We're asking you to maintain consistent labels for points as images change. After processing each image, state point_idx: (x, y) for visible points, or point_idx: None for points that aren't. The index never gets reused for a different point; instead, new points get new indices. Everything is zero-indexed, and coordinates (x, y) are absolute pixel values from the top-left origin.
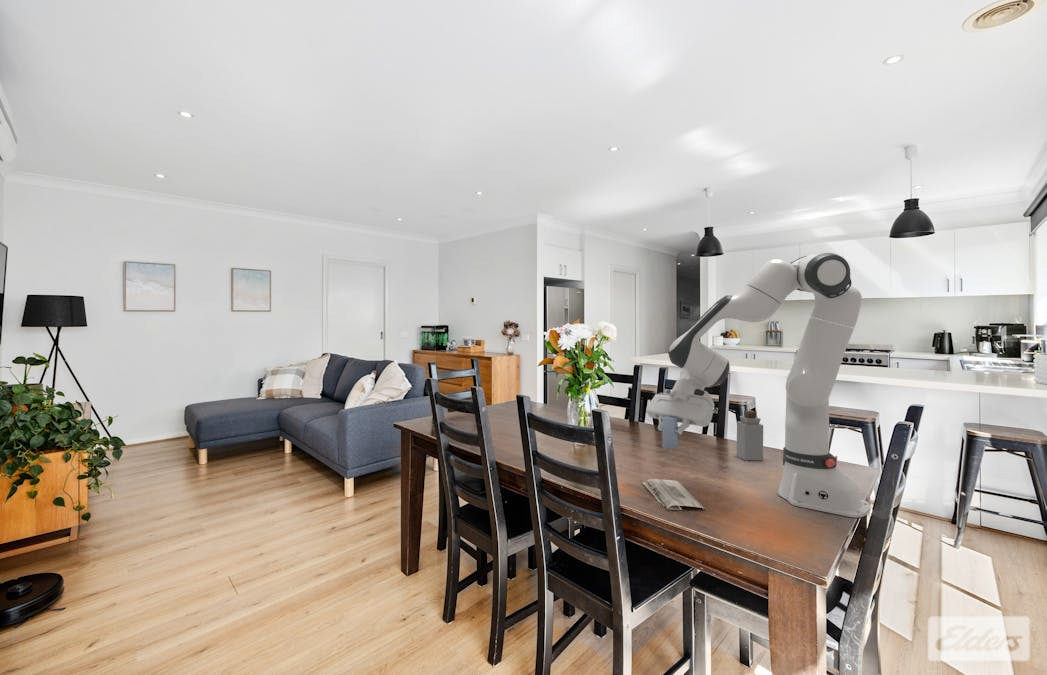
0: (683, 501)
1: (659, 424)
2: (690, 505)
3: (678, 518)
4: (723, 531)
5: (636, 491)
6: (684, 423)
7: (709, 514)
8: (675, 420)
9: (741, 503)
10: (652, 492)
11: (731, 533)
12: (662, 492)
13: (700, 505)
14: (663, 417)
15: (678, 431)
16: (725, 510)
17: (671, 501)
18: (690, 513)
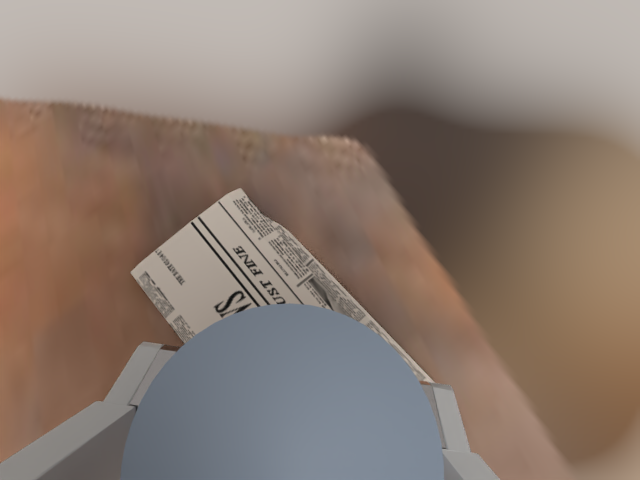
0: (207, 261)
1: (455, 427)
2: (175, 245)
3: (192, 157)
4: (48, 152)
5: (408, 287)
6: (15, 462)
7: (112, 249)
8: (151, 401)
9: (20, 442)
10: (350, 302)
11: (24, 153)
12: (306, 296)
13: (150, 284)
14: (406, 404)
15: (152, 344)
16: (68, 323)
17: (241, 226)
18: (171, 217)
